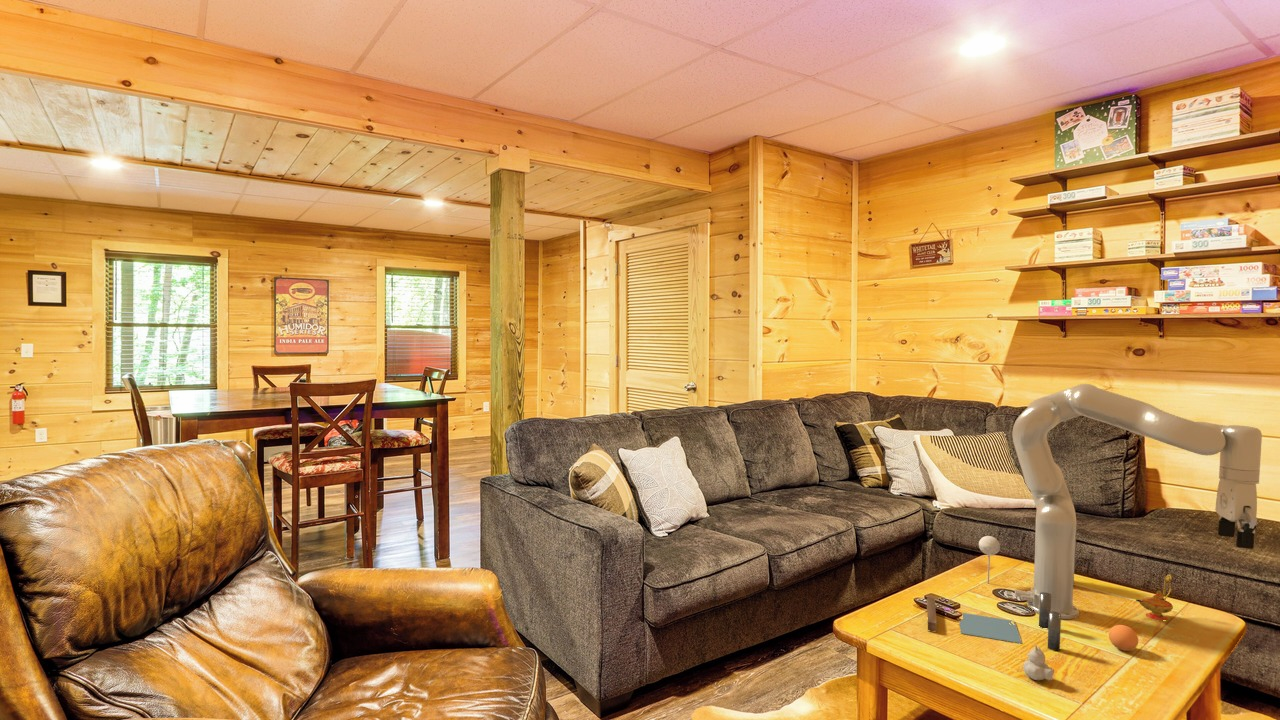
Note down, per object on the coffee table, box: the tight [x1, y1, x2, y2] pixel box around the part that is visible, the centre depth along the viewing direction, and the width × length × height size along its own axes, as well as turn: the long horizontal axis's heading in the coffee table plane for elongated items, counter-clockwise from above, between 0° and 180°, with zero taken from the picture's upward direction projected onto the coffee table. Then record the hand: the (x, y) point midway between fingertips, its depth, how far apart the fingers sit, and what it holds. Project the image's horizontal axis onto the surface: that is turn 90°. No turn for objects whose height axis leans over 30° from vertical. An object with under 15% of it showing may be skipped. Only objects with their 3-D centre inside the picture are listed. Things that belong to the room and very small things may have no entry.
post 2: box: [1047, 611, 1062, 652], centre depth 165 cm, size 3×3×9 cm
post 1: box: [1038, 592, 1051, 629], centre depth 177 cm, size 3×3×9 cm
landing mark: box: [958, 612, 1023, 645], centre depth 177 cm, size 14×14×1 cm
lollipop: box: [978, 535, 1001, 584], centre depth 208 cm, size 6×6×15 cm
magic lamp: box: [1135, 574, 1174, 622], centre depth 183 cm, size 7×18×11 cm, turn 118°
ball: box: [1108, 624, 1139, 652], centre depth 165 cm, size 6×6×6 cm
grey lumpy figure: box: [1022, 643, 1055, 681], centre depth 151 cm, size 5×7×8 cm
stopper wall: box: [926, 596, 937, 632], centre depth 182 cm, size 2×18×2 cm, turn 157°
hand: (1235, 541), depth 167 cm, fingers open, 9 cm apart
